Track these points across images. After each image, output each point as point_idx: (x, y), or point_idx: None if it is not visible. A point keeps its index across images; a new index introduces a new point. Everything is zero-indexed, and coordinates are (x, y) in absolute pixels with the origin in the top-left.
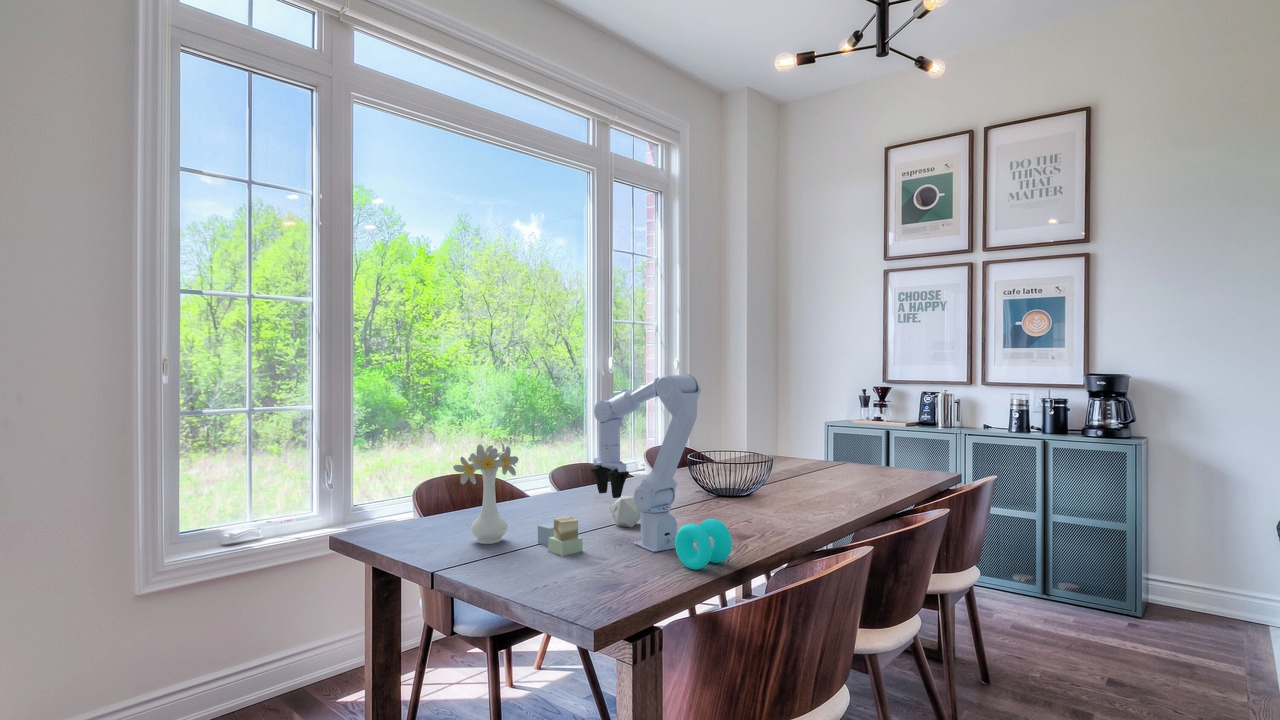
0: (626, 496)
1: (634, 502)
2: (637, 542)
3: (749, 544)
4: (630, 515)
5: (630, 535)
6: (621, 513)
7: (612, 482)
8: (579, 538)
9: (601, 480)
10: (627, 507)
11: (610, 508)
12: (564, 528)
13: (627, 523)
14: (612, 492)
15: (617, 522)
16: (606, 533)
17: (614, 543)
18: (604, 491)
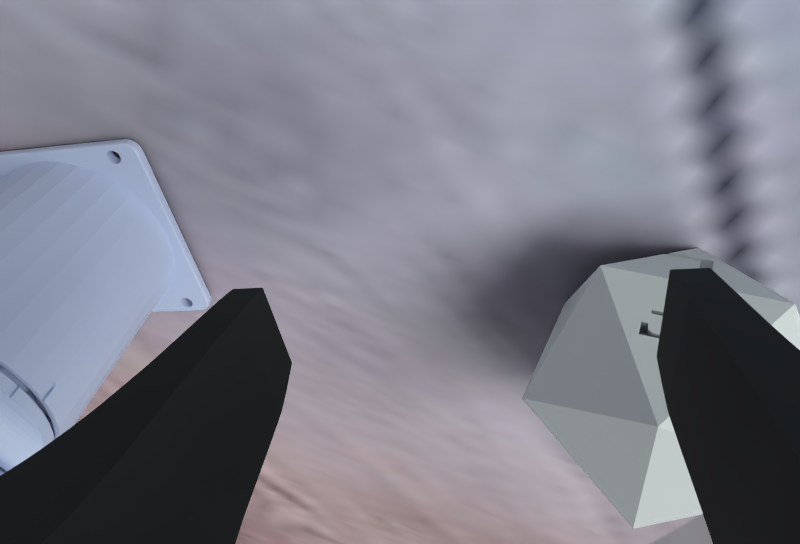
0: None
1: (592, 466)
2: (120, 161)
3: None
4: (547, 350)
5: (370, 212)
6: (592, 315)
7: (34, 467)
8: None
9: (751, 486)
10: (578, 388)
11: (773, 303)
12: None
13: (572, 296)
14: (198, 331)
15: (654, 256)
16: (510, 84)
17: (184, 18)
18: (663, 348)
